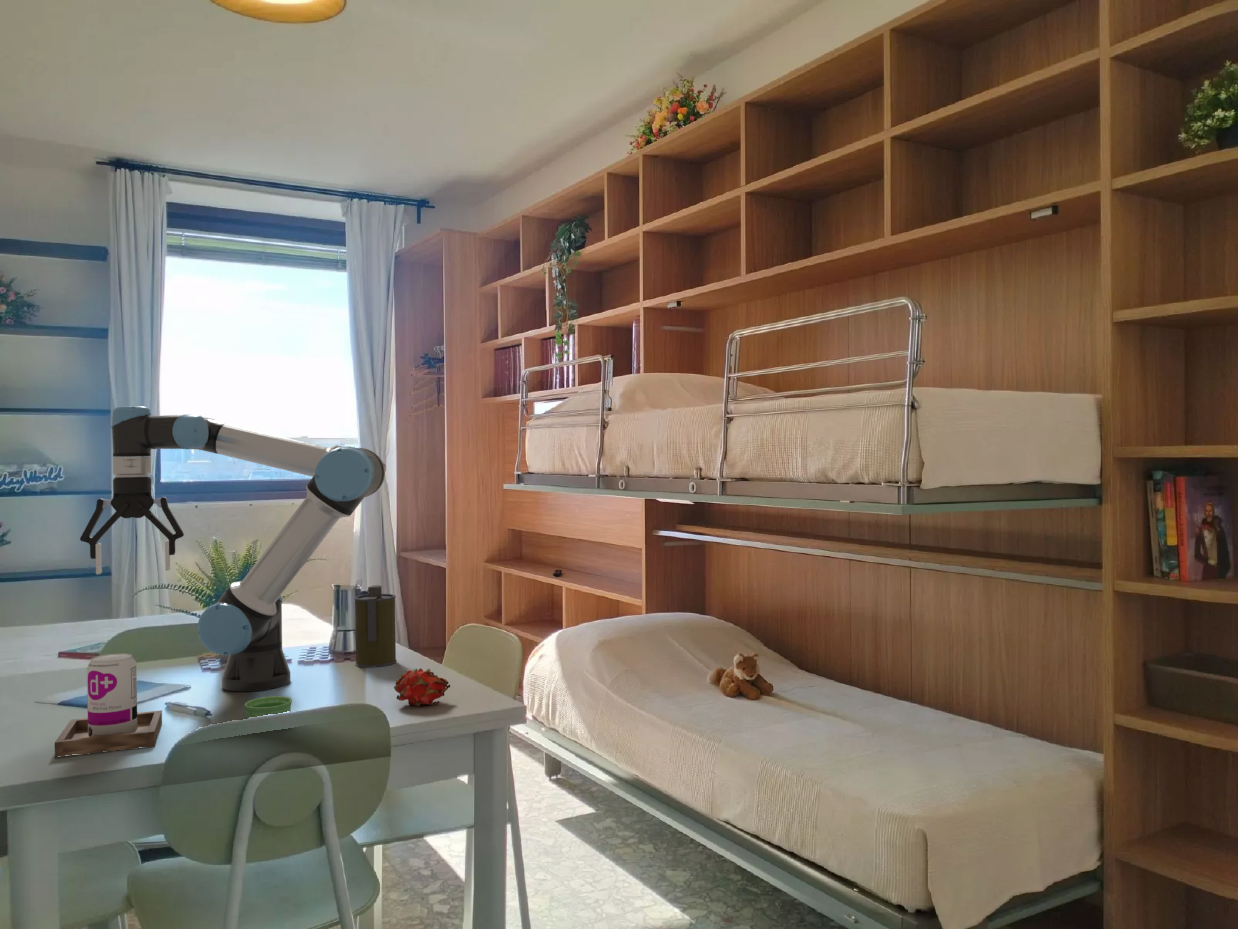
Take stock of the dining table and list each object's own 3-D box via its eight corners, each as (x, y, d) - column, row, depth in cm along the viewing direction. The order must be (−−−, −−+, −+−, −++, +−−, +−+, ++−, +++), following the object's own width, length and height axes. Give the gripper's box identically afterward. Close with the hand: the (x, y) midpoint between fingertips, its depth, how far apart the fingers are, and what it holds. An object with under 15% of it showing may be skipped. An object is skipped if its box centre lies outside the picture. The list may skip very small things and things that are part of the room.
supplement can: (115, 743, 170) (113, 662, 170) (77, 741, 172) (76, 661, 172) (147, 730, 178) (145, 653, 178) (110, 728, 180) (109, 652, 180)
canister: (359, 659, 244) (357, 584, 244) (399, 658, 245) (397, 583, 245) (351, 668, 233) (350, 590, 233) (393, 667, 234) (392, 588, 234)
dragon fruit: (389, 713, 197) (445, 716, 200) (394, 697, 190) (452, 701, 194) (393, 676, 202) (448, 680, 205) (397, 659, 196) (454, 664, 199)
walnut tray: (162, 724, 186) (161, 710, 186) (154, 746, 171) (154, 731, 171) (70, 734, 180) (70, 719, 180) (54, 758, 165) (54, 742, 165)
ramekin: (256, 717, 190) (255, 696, 190) (299, 717, 190) (298, 695, 190) (236, 729, 181) (236, 707, 181) (282, 729, 181) (281, 707, 181)
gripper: (64, 477, 196) (66, 577, 196) (193, 475, 205) (194, 570, 205) (70, 477, 203) (72, 573, 203) (194, 474, 212) (196, 566, 212)
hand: (133, 571), depth 204 cm, fingers open, 13 cm apart
